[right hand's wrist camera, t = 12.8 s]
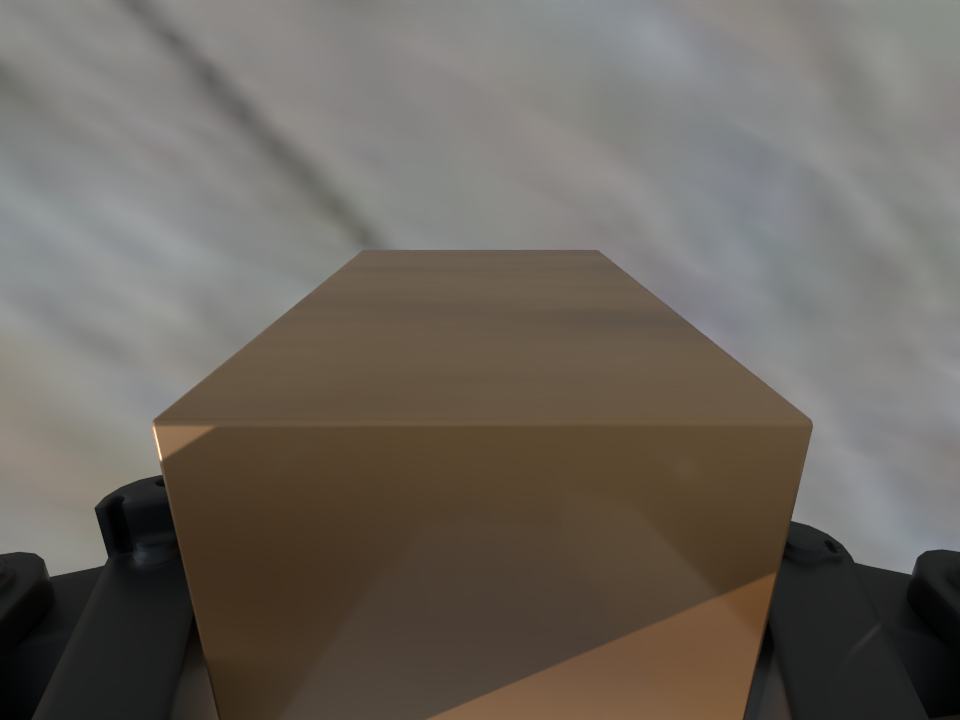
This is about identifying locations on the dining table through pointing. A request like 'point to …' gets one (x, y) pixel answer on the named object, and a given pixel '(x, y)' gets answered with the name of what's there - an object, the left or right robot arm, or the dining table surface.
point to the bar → (481, 499)
